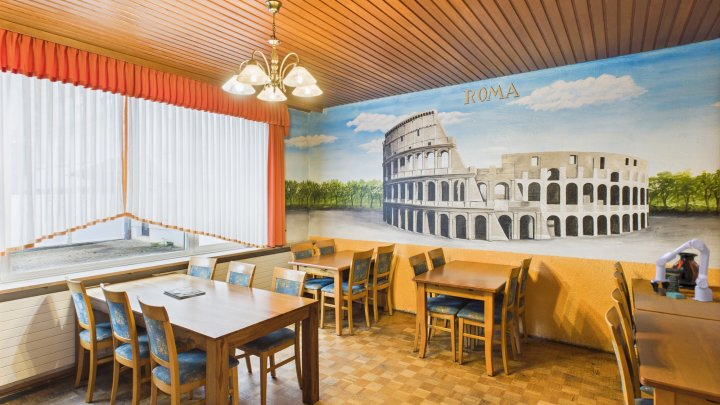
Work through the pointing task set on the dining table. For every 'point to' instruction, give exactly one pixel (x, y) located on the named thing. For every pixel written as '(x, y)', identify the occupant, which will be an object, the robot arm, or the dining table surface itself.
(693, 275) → the amphora vase
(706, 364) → the dining table surface
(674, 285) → the coffee jar
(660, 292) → the walnut cube
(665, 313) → the dining table surface
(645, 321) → the dining table surface
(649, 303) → the dining table surface
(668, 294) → the teal plinth
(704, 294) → the robot arm
